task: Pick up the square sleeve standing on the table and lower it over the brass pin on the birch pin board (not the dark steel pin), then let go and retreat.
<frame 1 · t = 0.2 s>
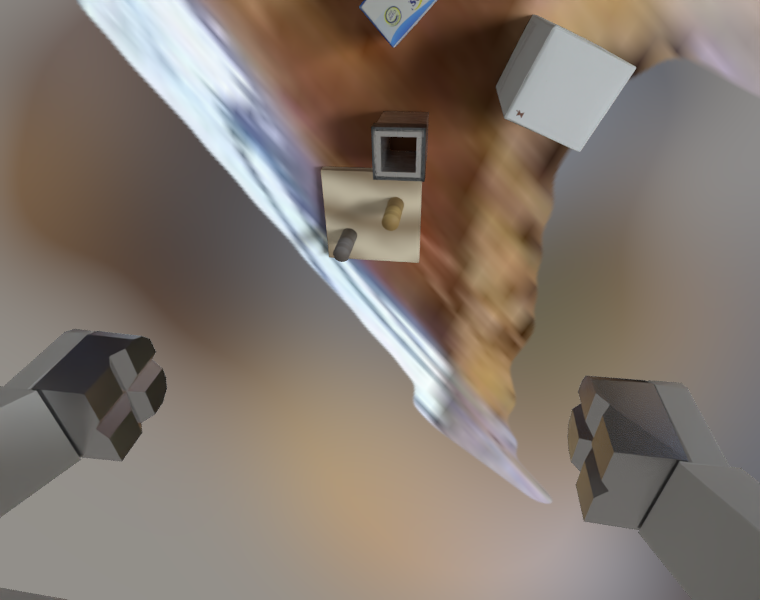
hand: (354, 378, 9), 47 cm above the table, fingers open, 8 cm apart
supplement box: (545, 66, 47), on the table
pinboard: (373, 214, 59), on the table
sleeve: (405, 134, 53), on the table
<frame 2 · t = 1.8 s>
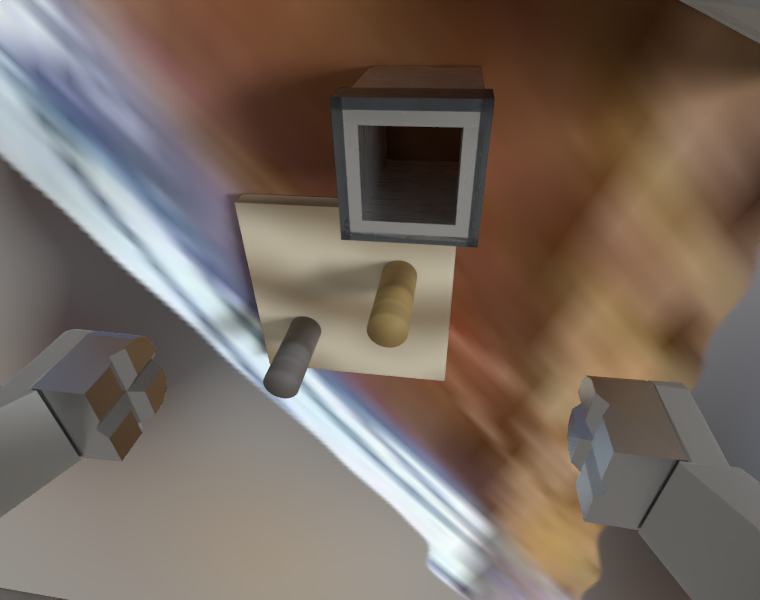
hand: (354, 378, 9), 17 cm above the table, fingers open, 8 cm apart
pinboard: (353, 289, 29), on the table
sleeve: (423, 123, 22), on the table
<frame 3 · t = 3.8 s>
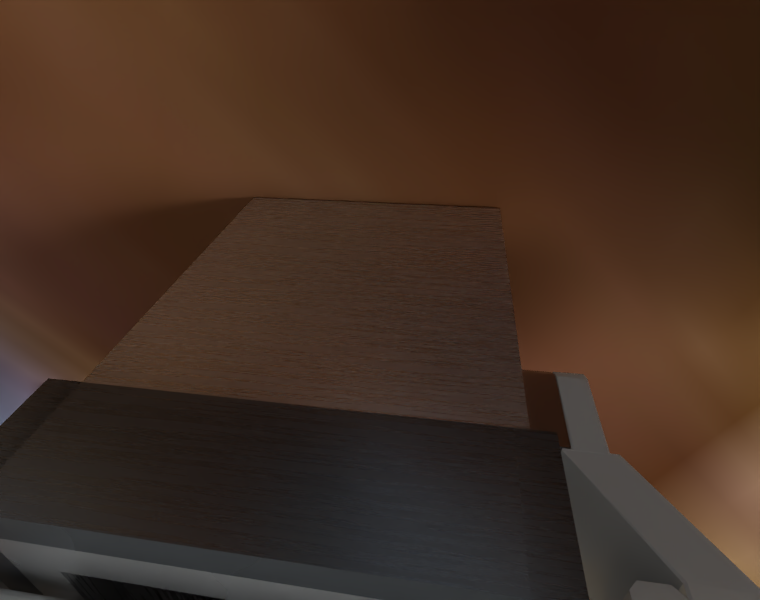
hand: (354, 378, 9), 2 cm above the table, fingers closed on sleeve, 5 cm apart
sleeve: (375, 303, 11), on the table, touching gripper
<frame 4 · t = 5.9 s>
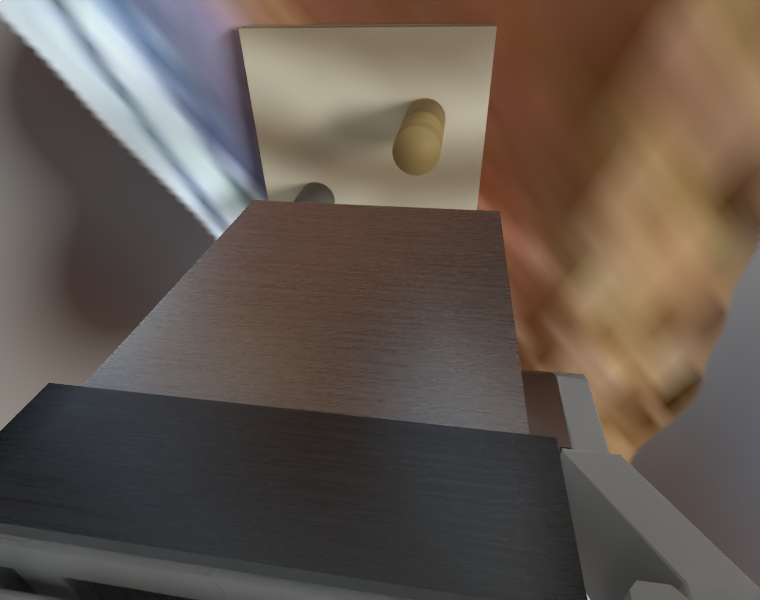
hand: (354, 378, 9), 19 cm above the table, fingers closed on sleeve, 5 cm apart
pinboard: (371, 150, 26), on the table
sleeve: (375, 306, 11), point 17 cm above the table, touching gripper
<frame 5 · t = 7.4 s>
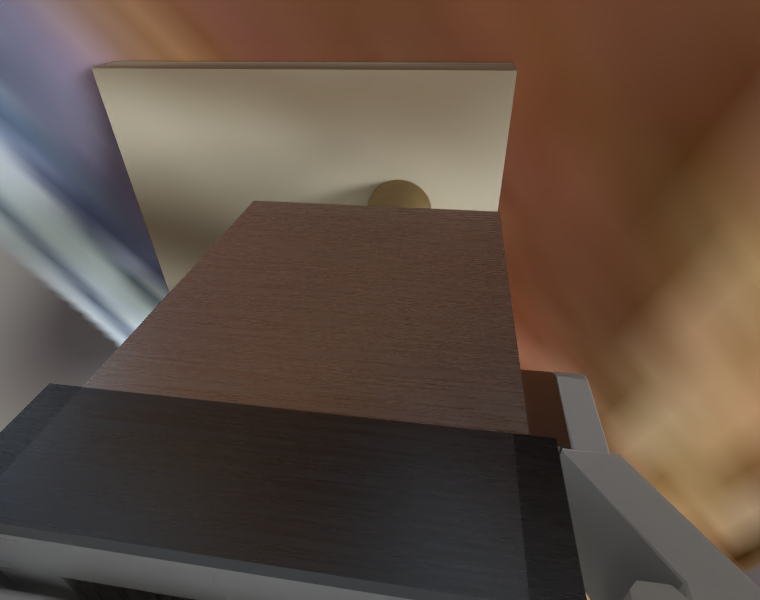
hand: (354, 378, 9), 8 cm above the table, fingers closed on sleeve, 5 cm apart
pinboard: (322, 242, 17), on the table
sleeve: (375, 306, 11), point 6 cm above the table, touching gripper
when the fingers open (5 cm above the table, at t = 8.5 s): sleeve stays where it is, resting on pinboard.
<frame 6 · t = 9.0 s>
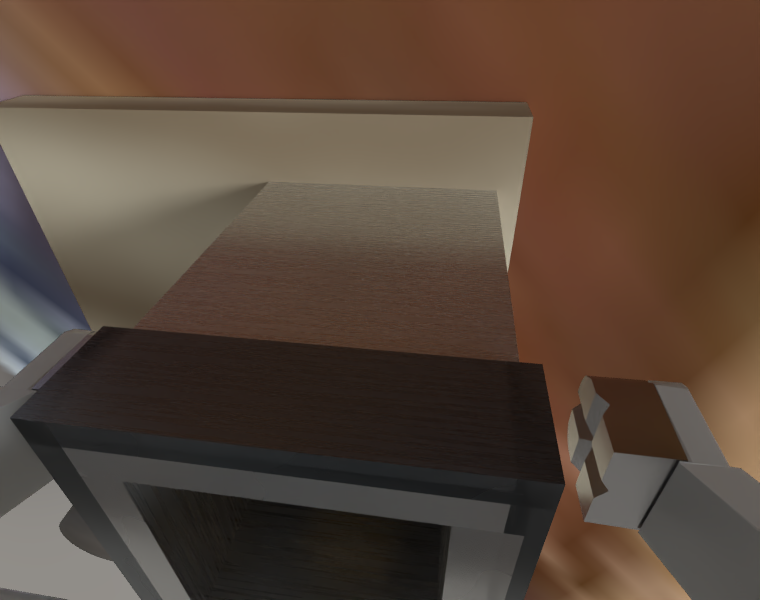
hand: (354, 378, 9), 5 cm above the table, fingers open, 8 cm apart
pinboard: (290, 309, 14), on the table
sleeve: (381, 282, 12), point 1 cm above the table, touching pinboard
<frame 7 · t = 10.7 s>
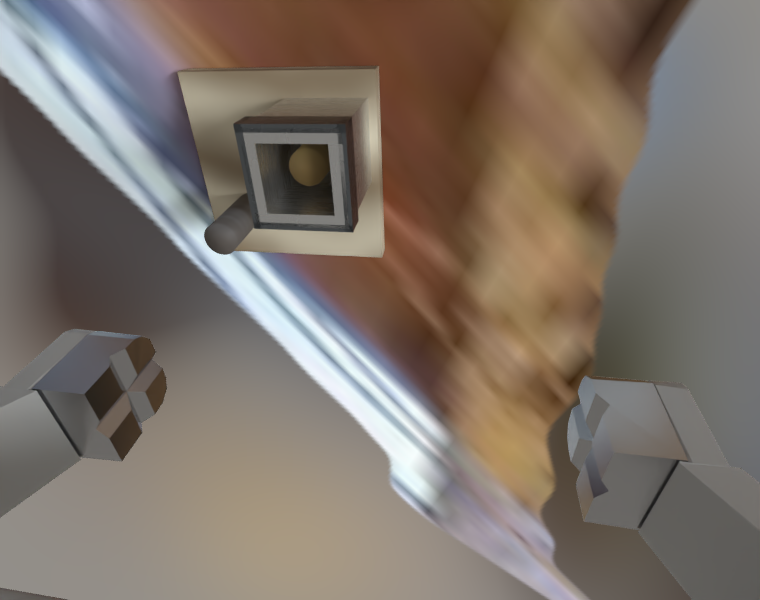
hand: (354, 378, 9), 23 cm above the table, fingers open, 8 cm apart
pinboard: (293, 166, 31), on the table
sleeve: (330, 141, 29), point 1 cm above the table, touching pinboard
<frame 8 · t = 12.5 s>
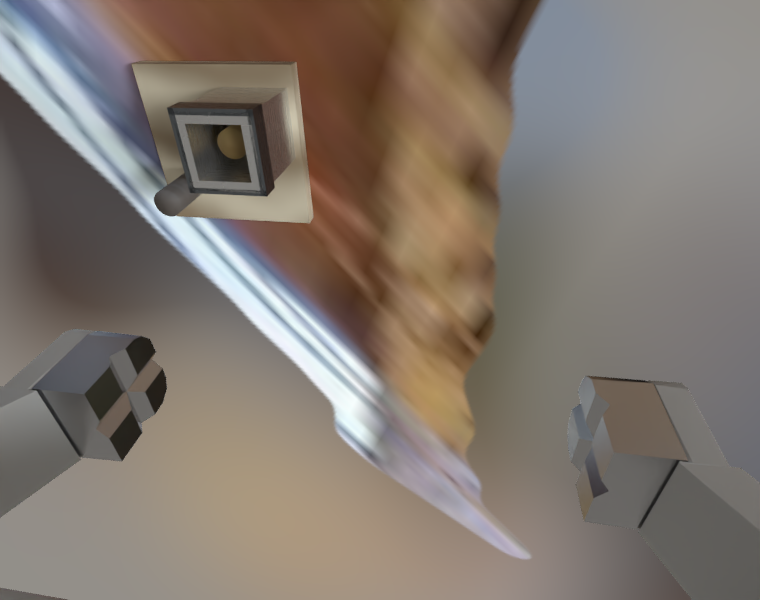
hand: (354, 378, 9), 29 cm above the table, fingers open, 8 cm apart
pinboard: (233, 144, 37), on the table
sleeve: (259, 123, 35), point 1 cm above the table, touching pinboard
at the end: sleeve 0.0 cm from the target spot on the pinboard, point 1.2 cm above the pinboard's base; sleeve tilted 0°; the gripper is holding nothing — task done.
